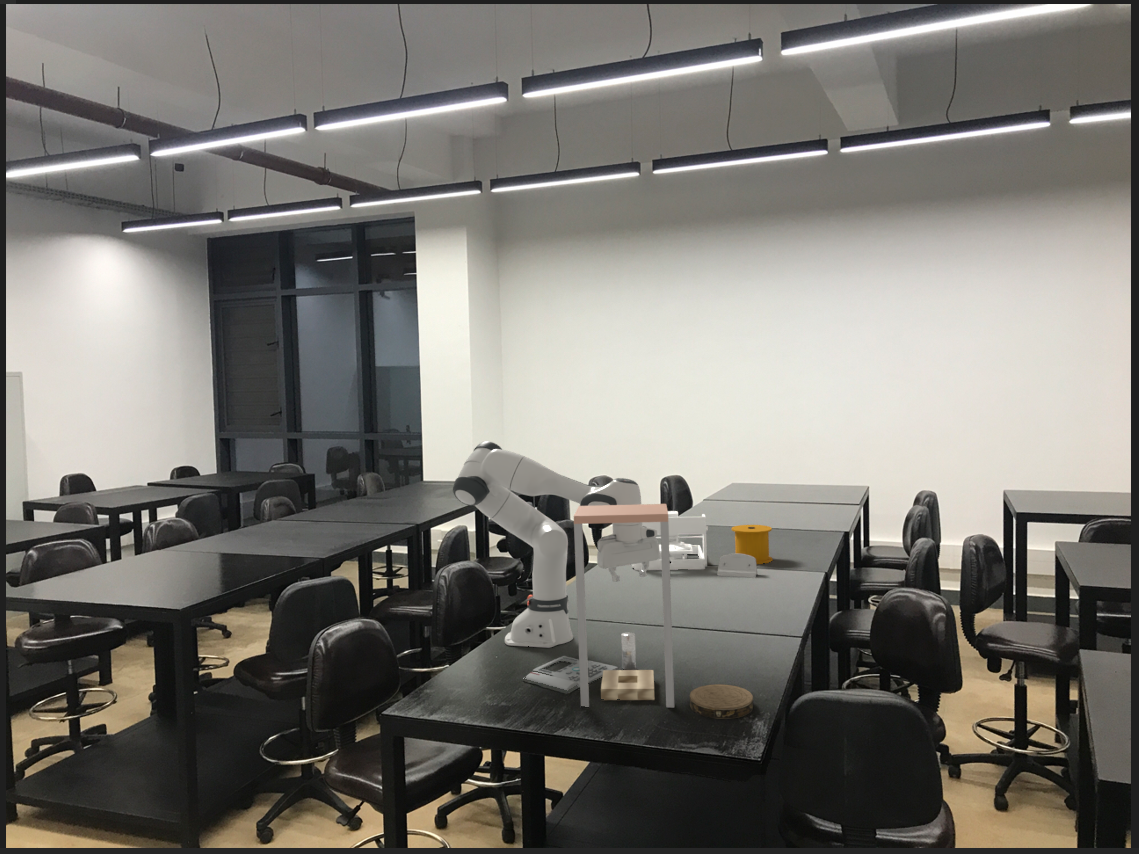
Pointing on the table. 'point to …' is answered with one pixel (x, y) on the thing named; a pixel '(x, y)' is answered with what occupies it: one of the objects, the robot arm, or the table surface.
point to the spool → (753, 542)
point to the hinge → (737, 565)
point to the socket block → (627, 685)
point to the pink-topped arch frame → (584, 517)
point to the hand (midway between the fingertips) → (629, 579)
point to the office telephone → (568, 673)
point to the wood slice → (721, 701)
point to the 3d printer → (678, 549)
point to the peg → (628, 651)
